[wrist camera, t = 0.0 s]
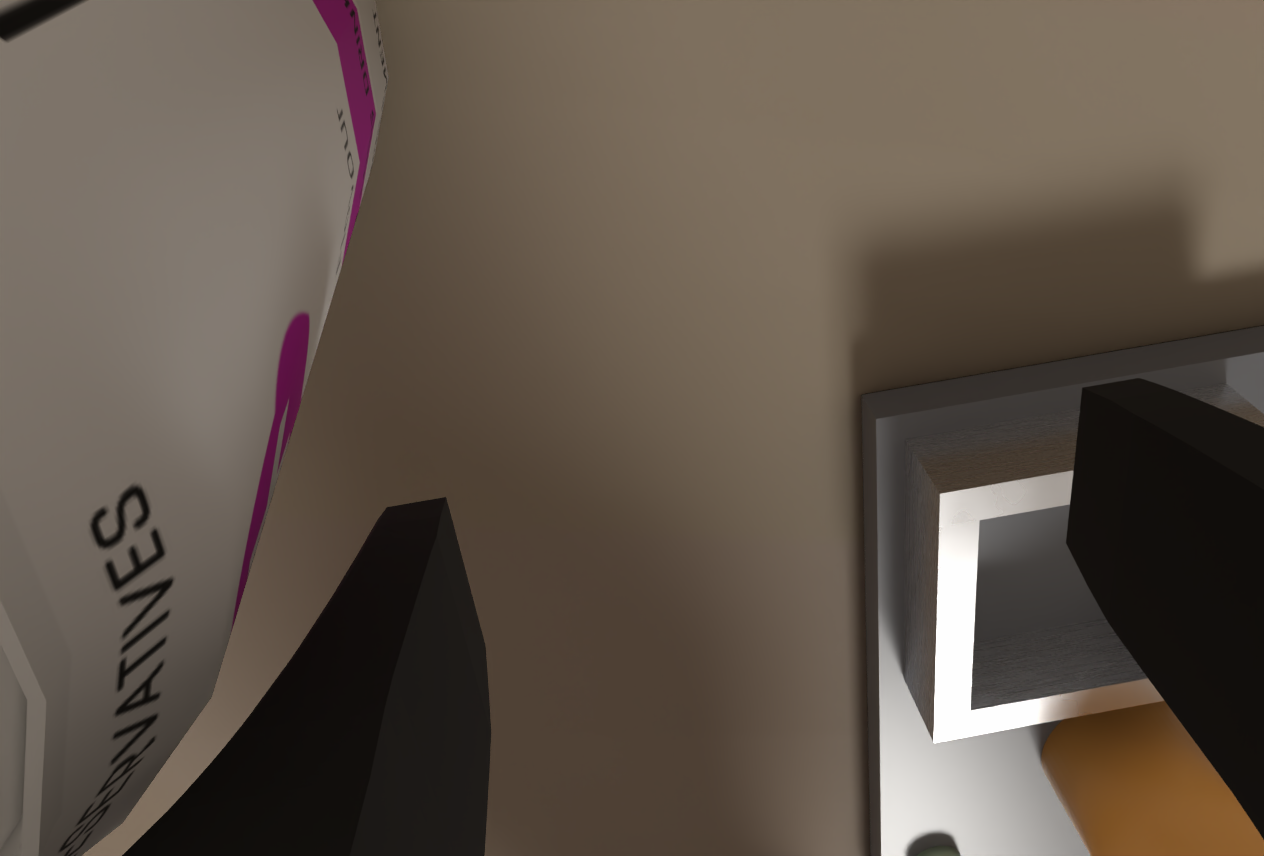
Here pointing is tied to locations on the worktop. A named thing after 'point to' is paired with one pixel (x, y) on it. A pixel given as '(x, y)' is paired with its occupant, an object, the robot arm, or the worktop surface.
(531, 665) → the worktop surface
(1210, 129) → the worktop surface
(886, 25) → the worktop surface
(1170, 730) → the cap
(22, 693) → the supplement can
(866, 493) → the breaker panel
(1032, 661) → the frame
